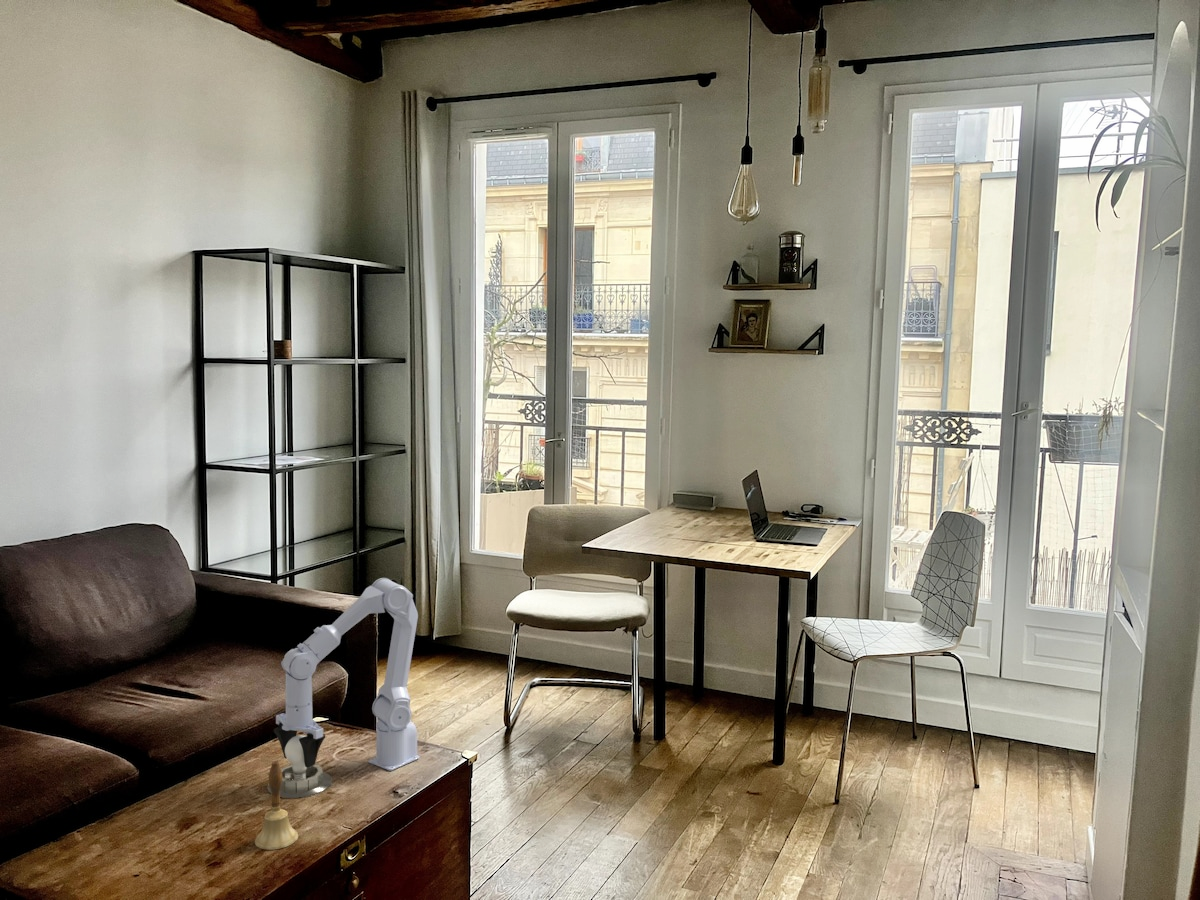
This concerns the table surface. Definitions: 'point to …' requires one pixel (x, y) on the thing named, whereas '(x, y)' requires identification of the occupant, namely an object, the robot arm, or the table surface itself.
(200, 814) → the table surface
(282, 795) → the lamp base
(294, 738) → the lightbulb
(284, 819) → the hand bell
